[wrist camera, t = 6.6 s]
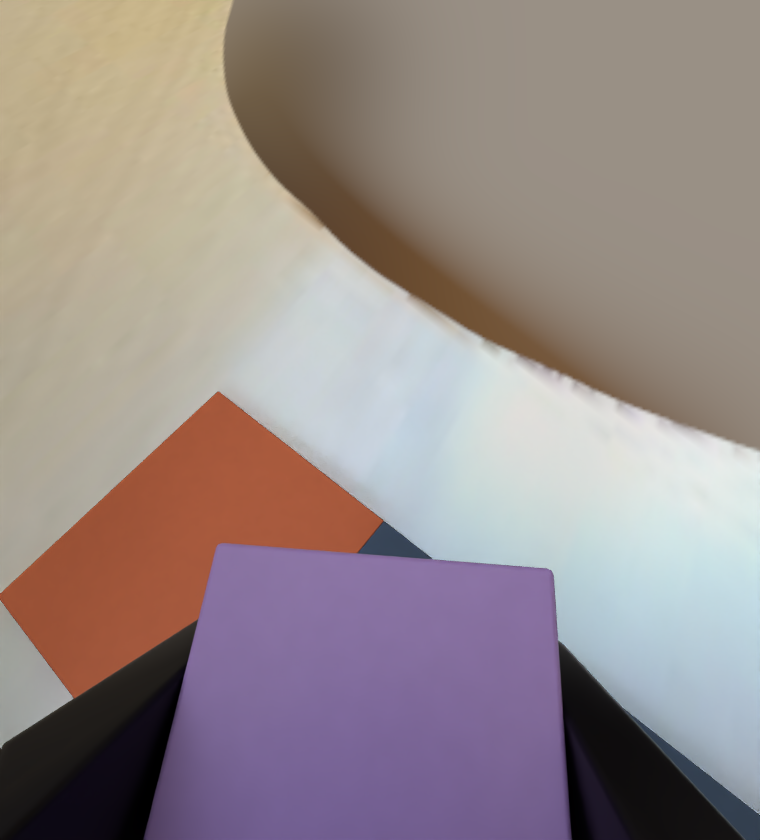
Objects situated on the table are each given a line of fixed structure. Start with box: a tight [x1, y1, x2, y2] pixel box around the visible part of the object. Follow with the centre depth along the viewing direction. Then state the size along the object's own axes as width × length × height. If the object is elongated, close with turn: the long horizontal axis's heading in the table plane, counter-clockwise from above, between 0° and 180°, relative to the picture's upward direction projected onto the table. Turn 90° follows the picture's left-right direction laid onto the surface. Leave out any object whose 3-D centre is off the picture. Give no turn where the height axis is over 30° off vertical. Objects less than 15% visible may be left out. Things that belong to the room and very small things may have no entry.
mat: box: [0, 392, 760, 840], centre depth 14 cm, size 26×10×1 cm, turn 51°
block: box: [143, 543, 572, 840], centre depth 10 cm, size 5×5×8 cm
